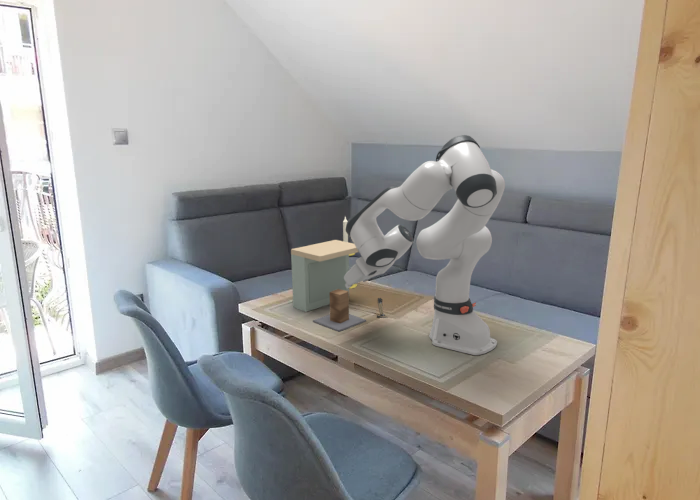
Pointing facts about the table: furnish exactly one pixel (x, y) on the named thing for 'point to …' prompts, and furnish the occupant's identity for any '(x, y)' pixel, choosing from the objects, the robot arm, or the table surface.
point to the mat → (337, 326)
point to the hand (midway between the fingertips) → (355, 283)
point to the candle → (345, 239)
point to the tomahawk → (380, 308)
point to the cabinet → (319, 272)
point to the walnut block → (339, 306)
